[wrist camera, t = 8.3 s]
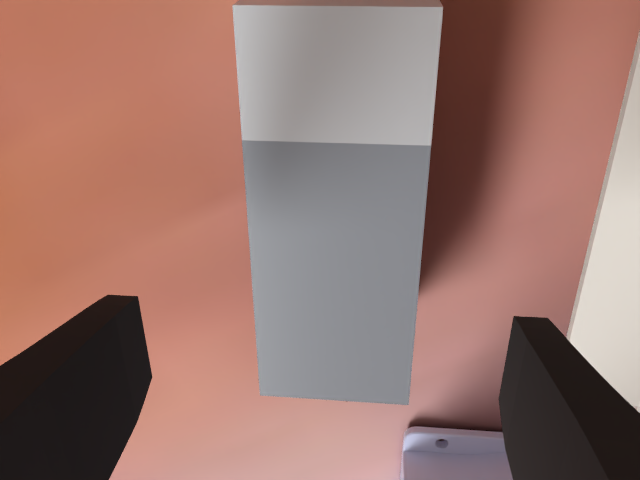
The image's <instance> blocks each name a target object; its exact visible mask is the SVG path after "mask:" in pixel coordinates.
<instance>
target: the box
mask: <svg viewBox="0 0 640 480" xmlns="http://www.w3.org/2000/svg"><path fill="white" fill-rule="evenodd" d="M442 15H443V6H442V4H441V2H440V0H239V1H238V2H236V3H235V4H233V19H234V33H235V47H236V62H237V76H238V90H239V104H240V118H241V132H242V147H243V161H244V175H245V189H246V203H247V217H248V232H249V246H250V260H251V274H252V288H253V302H254V317H255V331H256V345H257V359H258V373H259V387H260V395H262V396H277V397H293V398H308V399H323V400H339V401H354V402H370V403H385V404H401V405H409V394H410V382H411V371H412V359H413V348H414V336H415V325H416V313H417V302H418V291H419V279H420V268H421V256H422V245H423V233H424V222H425V210H426V199H427V187H428V176H429V164H430V153H431V141H432V130H433V119H434V107H435V96H436V84H437V73H438V61H439V50H440V38H441V27H442Z"/></svg>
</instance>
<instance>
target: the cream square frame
mask: <svg viewBox="0 0 640 480" xmlns="http://www.w3.org/2000/svg"><path fill="white" fill-rule="evenodd" d="M566 338H567V339H568V340H569V342H570V343H571V344H572V345H573V346H574V347H575V348H576V349H577V350H578V351H579V352H580V353H581V355H582V356H583V357H584V358H585V359H586V360H587V361H588V362H589V363H590V364H591V365H592V366H593V367H594V368H595V369H596V370H597V371H598V373H599V374H600V375H601V376H602V377H603V378H604V379H605V380H606V381H607V382H608V383H609V384H610V385H611V386H612V387H613V388H614V389H615V390H616V391H617V392H618V393H619V394H620V395H621V396H622V397H623V398H624V399H625V400H626V401H628V402H629V403H630V404H631V405H632V406H633V407H634V408H635V409H636V410H637V411H638V412H639V413H640V31H639V35H638V39H637V43H636V47H635V52H634V56H633V60H632V64H631V68H630V73H629V77H628V81H627V85H626V89H625V93H624V98H623V102H622V106H621V110H620V114H619V119H618V123H617V127H616V131H615V135H614V140H613V144H612V148H611V152H610V156H609V160H608V165H607V169H606V173H605V177H604V181H603V186H602V190H601V194H600V198H599V202H598V207H597V211H596V215H595V219H594V223H593V228H592V232H591V236H590V240H589V244H588V248H587V253H586V257H585V261H584V265H583V269H582V274H581V278H580V282H579V286H578V290H577V295H576V299H575V303H574V307H573V311H572V315H571V320H570V324H569V328H568V332H567V336H566Z"/></svg>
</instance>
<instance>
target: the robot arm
mask: <svg viewBox="0 0 640 480" xmlns="http://www.w3.org/2000/svg"><path fill="white" fill-rule="evenodd" d="M151 379H152V373H151V368H150V362H149V356H148V351H147V345H146V340H145V334H144V328H143V323H142V317H141V312H140V306H139V300H138V296H120V295H107V296H105V297H103V298H102V299H100V300H98V301H97V302H95V303H94V304H92V305H91V306H89V307H88V308H86V309H85V310H83V311H82V312H80V313H79V314H77V315H76V316H74V317H73V318H72V319H70V320H69V321H67V322H66V323H64V324H63V325H61V326H60V327H58V328H57V329H56V330H54V331H53V332H51V333H50V334H48V335H47V336H45V337H44V338H42V339H41V340H39V341H38V342H36V343H35V344H33V345H32V346H30V347H29V348H27V349H26V350H24V351H23V352H21V353H20V354H18V355H17V356H15V357H13V358H12V359H10V360H9V361H7V362H5V363H4V364H2V365H1V366H0V480H109V478H110V476H111V474H112V472H113V470H114V468H115V466H116V464H117V462H118V460H119V458H120V456H121V454H122V452H123V450H124V448H125V446H126V444H127V442H128V440H129V438H130V436H131V434H132V432H133V430H134V427H135V425H136V423H137V421H138V418H139V415H140V412H141V409H142V407H143V404H144V401H145V398H146V395H147V391H148V388H149V385H150V382H151ZM499 406H500V414H501V422H502V430H503V432H492V431H477V430H463V429H448V428H433V427H419V426H415V427H410V428H408V429H407V430H406V431H405V432H404V437H403V449H402V461H401V472H400V480H640V413H639V412H638V411H637V410H636V409H635V408H634V407H633V406H632V405H631V404H630V403H629V402H628V401H626V400H625V399H624V398H623V397H622V396H621V395H620V394H619V393H618V392H617V391H616V390H615V389H614V388H613V387H612V386H611V385H610V384H609V383H608V382H607V381H606V380H605V379H604V378H603V377H602V376H601V375H600V374H599V373H598V371H597V370H596V369H595V368H594V367H593V366H592V365H591V364H590V363H589V362H588V361H587V360H586V359H585V358H584V357H583V356H582V355H581V353H580V352H579V351H578V350H577V349H576V348H575V347H574V346H573V345H572V344H571V343H570V342H569V340H568V339H567V338H566V337H565V336H564V335H563V334H562V333H561V332H560V331H559V330H558V328H557V327H556V326H555V325H554V324H553V323H552V322H551V321H550V320H549V319H548V318H538V317H519V316H514V318H513V323H512V329H511V334H510V340H509V345H508V351H507V356H506V362H505V367H504V373H503V378H502V384H501V389H500V395H499ZM439 439H445V440H444V441H439Z"/></svg>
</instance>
